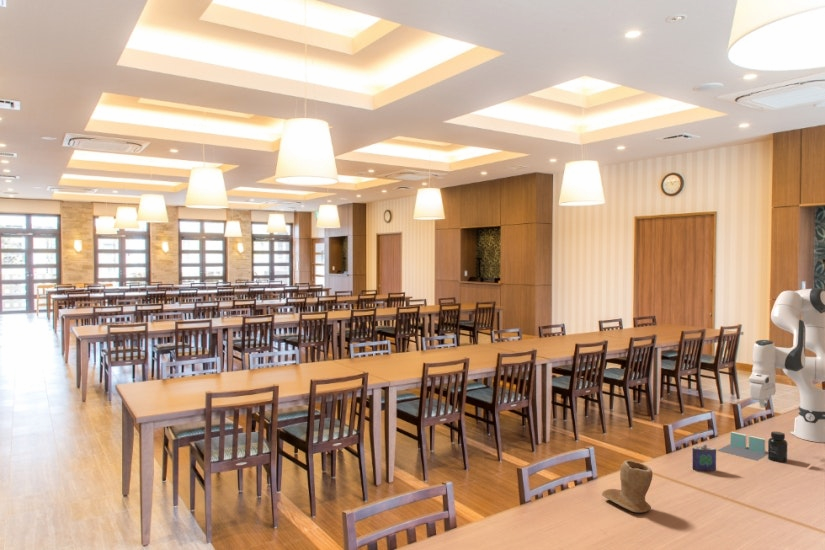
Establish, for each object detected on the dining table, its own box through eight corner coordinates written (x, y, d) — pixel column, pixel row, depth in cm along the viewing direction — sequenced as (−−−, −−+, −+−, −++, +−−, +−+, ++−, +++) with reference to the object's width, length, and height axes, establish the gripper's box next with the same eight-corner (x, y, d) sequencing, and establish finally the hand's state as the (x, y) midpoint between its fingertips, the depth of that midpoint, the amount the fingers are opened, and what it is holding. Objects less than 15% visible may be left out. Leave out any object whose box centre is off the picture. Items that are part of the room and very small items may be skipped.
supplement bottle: (791, 464, 228) (791, 435, 228) (774, 463, 228) (775, 435, 228) (780, 458, 235) (780, 430, 235) (764, 458, 235) (764, 430, 235)
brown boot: (660, 511, 184) (660, 467, 184) (633, 517, 179) (634, 472, 179) (626, 494, 198) (626, 452, 198) (600, 499, 193) (601, 457, 193)
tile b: (731, 444, 251) (732, 431, 251) (746, 448, 246) (746, 434, 246) (730, 445, 250) (730, 432, 250) (745, 448, 245) (745, 435, 245)
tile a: (750, 449, 245) (750, 435, 245) (765, 452, 240) (765, 439, 240) (748, 449, 244) (748, 436, 244) (763, 453, 239) (764, 439, 239)
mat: (731, 444, 253) (731, 443, 253) (770, 453, 240) (770, 452, 240) (716, 451, 243) (716, 450, 243) (757, 462, 230) (757, 460, 230)
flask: (714, 469, 222) (714, 443, 222) (718, 471, 219) (718, 445, 219) (691, 468, 223) (691, 442, 222) (694, 471, 220) (694, 445, 220)
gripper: (764, 372, 255) (763, 402, 255) (747, 378, 242) (746, 409, 242) (779, 374, 250) (779, 404, 250) (763, 380, 237) (762, 412, 237)
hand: (763, 407), depth 246 cm, fingers closed
